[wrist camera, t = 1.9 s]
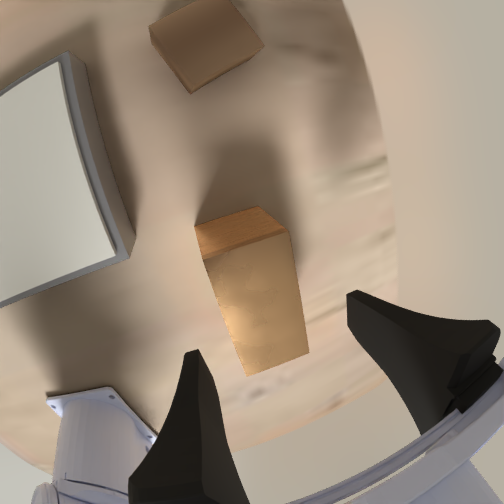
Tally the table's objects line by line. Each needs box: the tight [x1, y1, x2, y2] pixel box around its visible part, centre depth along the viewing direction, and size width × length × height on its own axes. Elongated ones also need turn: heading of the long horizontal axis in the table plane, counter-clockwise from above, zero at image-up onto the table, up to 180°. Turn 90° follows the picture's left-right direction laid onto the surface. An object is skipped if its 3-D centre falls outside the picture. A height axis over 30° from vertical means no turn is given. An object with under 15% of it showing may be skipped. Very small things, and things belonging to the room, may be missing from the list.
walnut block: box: [149, 0, 264, 94], centre depth 11 cm, size 4×4×3 cm
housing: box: [194, 206, 309, 376], centre depth 16 cm, size 8×4×5 cm, turn 14°
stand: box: [0, 50, 136, 308], centre depth 11 cm, size 11×11×3 cm
